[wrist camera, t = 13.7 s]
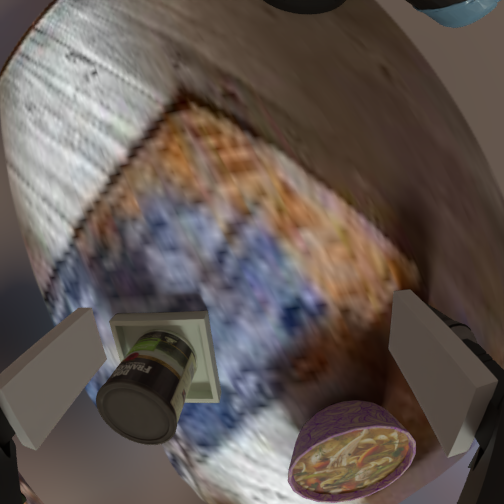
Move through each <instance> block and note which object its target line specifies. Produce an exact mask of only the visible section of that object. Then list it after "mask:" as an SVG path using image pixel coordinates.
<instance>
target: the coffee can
mask: <svg viewBox="0 0 504 504" xmlns="http://www.w3.org/2000/svg"><path fill="white" fill-rule="evenodd" d="M197 366H198V361H197V356H196V353H195V351H194V349H193V347H192V346H191V345H190V343H189V342H188V341H187V340H186V339H184V338H183V337H182V336H180V335H179V334H177V333H175V332H172V331H169V330H165V329H153V330H149V331H147V332H145V333H143V334H142V335H141V336H140V337H139V338H138V340H137V341H136V343H135V344H134V346H133V347H132V348H131V350H130V351H129V352H128V354H127V355H126V356H125V358H124V359H123V360H122V362H121V363H120V364H119V366H118V367H117V368H116V370H115V371H114V372H113V374H112V375H111V376H110V378H109V379H108V380H107V382H106V383H105V384H104V385H103V386H102V387H101V388H100V390H99V391H98V393H97V396H96V404H97V408H98V411H99V413H100V415H101V417H102V418H103V420H104V421H105V422H106V423H107V424H108V425H109V426H110V427H111V428H112V429H113V430H114V431H115V432H117V433H118V434H120V435H121V436H123V437H125V438H127V439H129V440H131V441H134V442H137V443H141V444H146V445H158V444H162V443H165V442H167V441H169V440H170V439H171V438H172V437H173V436H174V434H175V432H176V428H177V422H178V419H179V416H180V414H181V411H182V408H183V405H184V402H185V399H186V397H187V394H188V391H189V388H190V385H191V383H192V380H193V377H194V375H195V373H196V371H197Z"/></svg>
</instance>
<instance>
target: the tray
mask: <svg viewBox="0 0 504 504" xmlns="http://www.w3.org/2000/svg"><path fill="white" fill-rule="evenodd" d="M109 322H110V326H111V330H112V333H113V337H114V341H115V344H116V348H117V351H118V355H119V358H120V361H121V362H122V360H123V359H124V358H125V356H126V355H127V354H128V352H129V351H130V350H131V348H132V347H133V346H134V344H135V343H136V341H137V340H138V338H139V337H140V336H141V335H142V334H143V333H145V332H147V331H149V330H153V329H165V330H169V331H172V332H175V333H177V334H179V335H180V336H182V337H183V338H184V339H186V340H187V341H188V342H189V343H190V345H191V346H192V347H193V349H194V351H195V353H196V356H197V361H198V366H197V371H196V373H195V375H194V377H193V380H192V383H191V385H190V388H189V391H188V394H187V397H186V399H185V402H189V403H219V401H220V396H221V387H220V382H219V376H218V371H217V365H216V359H215V353H214V347H213V341H212V335H211V328H210V322H209V315H208V311H190V312H163V313H117V314H116V315H115V316H114V317H113V318H112V319H111V320H110V321H109Z"/></svg>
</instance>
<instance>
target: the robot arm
mask: <svg viewBox="0 0 504 504" xmlns="http://www.w3.org/2000/svg"><path fill="white" fill-rule="evenodd" d="M264 1H265V2H266V3H268V4H270V5H272V6H274V7H276V8H278V9H281V10H284V11H287V12H292V13H298V14H319V13H324V12H328V11H331V10H333V9H335V8H337V7H339V6H340V5H342V4H343V3H344V2H345V1H346V0H264ZM406 1H407V2H409V3H410V4H412V6H413V7H414V8H415V9H416V10H418V11H420V12H423V13H425V14H426V15H428V16H429V17H431V18H432V19H433V20H435V21H436V22H438V23H439V24H441V25H443V26H446V27H452V28H458V27H463V26H466V25H469V24H471V23H474V22H475V21H477V20H479V19H481V18H482V17H484V16H485V15H487V14H488V13H489V12H491V11H492V10H493V9H494V8H495V7H496V6H497V2H499V1H500V0H406ZM388 349H389V351H390V352H391V354H392V356H393V357H394V359H395V361H396V363H397V364H398V366H399V368H400V370H401V371H402V373H403V375H404V377H405V378H406V380H407V382H408V384H409V386H410V387H411V389H412V391H413V393H414V395H415V396H416V398H417V400H418V402H419V404H420V406H421V407H422V409H423V411H424V413H425V415H426V417H427V419H428V421H429V423H430V424H431V426H432V428H433V430H434V432H435V434H436V436H437V438H438V440H439V442H440V444H441V446H442V448H443V450H444V452H445V454H446V456H447V458H448V457H451V456H454V455H457V454H460V453H463V452H466V451H468V450H469V448H470V446H471V444H472V442H473V440H474V438H476V440H477V442H478V443H479V445H480V446H479V448H478V450H477V452H476V453H475V455H474V457H473V459H472V461H471V462H470V464H469V466H468V468H471V469H470V472H469V474H468V477H467V480H466V483H465V485H464V488H463V490H462V493H461V495H460V497H459V500H458V502H457V504H504V370H503V369H502V368H501V367H500V366H499V365H498V364H497V363H496V362H495V361H494V360H492V357H491V356H490V355H489V354H486V351H485V350H484V349H483V348H482V347H481V346H480V345H479V344H477V343H475V342H473V341H471V340H469V339H463V340H461V339H460V338H459V337H458V336H457V335H456V334H455V333H454V332H453V331H452V330H451V329H450V328H449V327H448V326H447V325H446V324H445V323H444V322H443V321H442V320H441V319H440V318H439V317H438V316H437V315H436V314H435V313H434V312H433V311H432V310H431V309H430V308H429V307H428V306H427V305H426V304H425V303H424V302H423V301H422V300H421V299H420V298H419V297H418V296H417V295H416V294H415V293H413V292H412V291H411V290H410V289H409V290H400V291H394V295H393V308H392V320H391V330H390V339H389V348H388ZM106 360H107V358H106V355H105V352H104V349H103V345H102V342H101V339H100V336H99V332H98V329H97V326H96V322H95V318H94V315H93V311H92V308H78V309H77V310H75V311H74V312H73V313H72V314H70V315H69V316H68V317H67V318H65V319H64V320H63V321H62V322H61V323H59V324H58V325H57V326H56V327H54V328H53V329H52V330H51V331H50V332H49V333H47V334H46V335H45V336H44V337H43V338H41V339H40V340H39V341H38V342H36V343H35V344H34V345H33V346H32V347H31V348H29V349H28V350H27V351H26V352H25V353H24V354H22V355H21V356H20V357H19V358H18V359H17V360H15V361H14V362H13V363H12V364H11V365H10V366H9V367H8V368H7V369H5V370H4V371H3V372H2V373H1V374H0V504H23V503H22V497H21V490H20V483H19V476H18V467H17V457H16V446H15V443H14V441H13V440H12V437H13V436H14V434H16V435H17V437H18V438H19V440H20V441H21V443H22V444H23V445H24V446H26V447H29V448H31V449H34V450H38V448H39V447H40V445H41V444H42V443H43V441H44V440H45V439H46V437H47V436H48V435H49V433H50V432H51V431H52V429H53V428H54V427H55V425H56V424H57V422H58V421H59V420H60V418H61V417H62V416H63V415H64V413H65V412H66V411H67V409H68V408H69V407H70V405H71V404H72V403H73V401H74V400H75V399H76V398H77V396H78V395H79V394H80V392H81V391H82V390H83V389H84V387H85V386H86V385H87V384H88V382H89V381H90V380H91V378H92V377H93V376H94V375H95V373H96V372H97V371H98V370H99V368H100V367H101V366H102V365H103V363H104V362H105V361H106Z"/></svg>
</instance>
